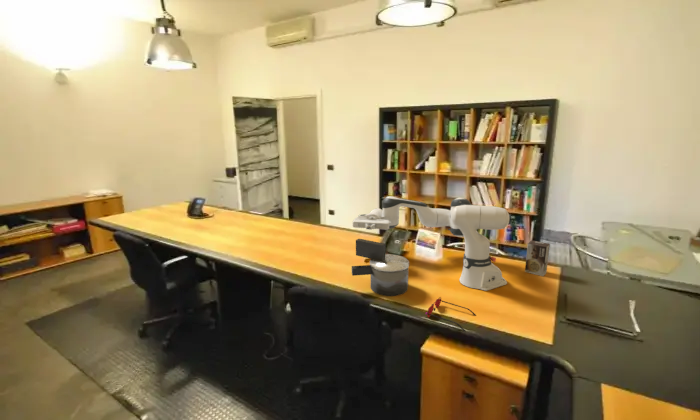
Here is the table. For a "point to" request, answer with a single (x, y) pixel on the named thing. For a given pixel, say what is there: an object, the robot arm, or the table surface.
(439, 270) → the table surface
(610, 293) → the table surface
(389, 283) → the pot
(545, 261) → the coffee box
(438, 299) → the glasses
